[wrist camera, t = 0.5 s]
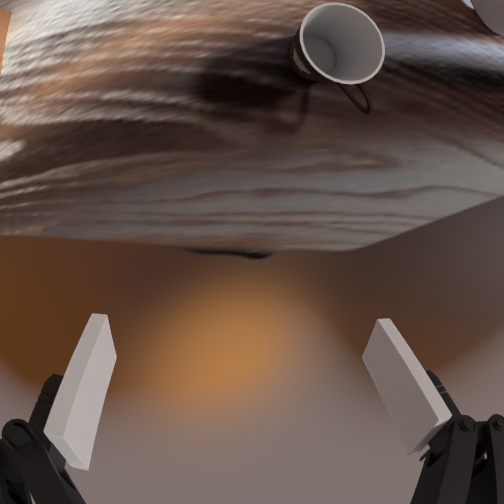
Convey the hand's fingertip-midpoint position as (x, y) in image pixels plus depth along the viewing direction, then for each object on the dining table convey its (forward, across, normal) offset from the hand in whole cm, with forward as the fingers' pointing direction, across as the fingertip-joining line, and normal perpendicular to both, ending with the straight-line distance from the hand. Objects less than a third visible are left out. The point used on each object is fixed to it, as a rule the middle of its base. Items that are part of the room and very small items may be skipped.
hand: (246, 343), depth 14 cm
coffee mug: (+27, +9, +17) cm, 33 cm away
